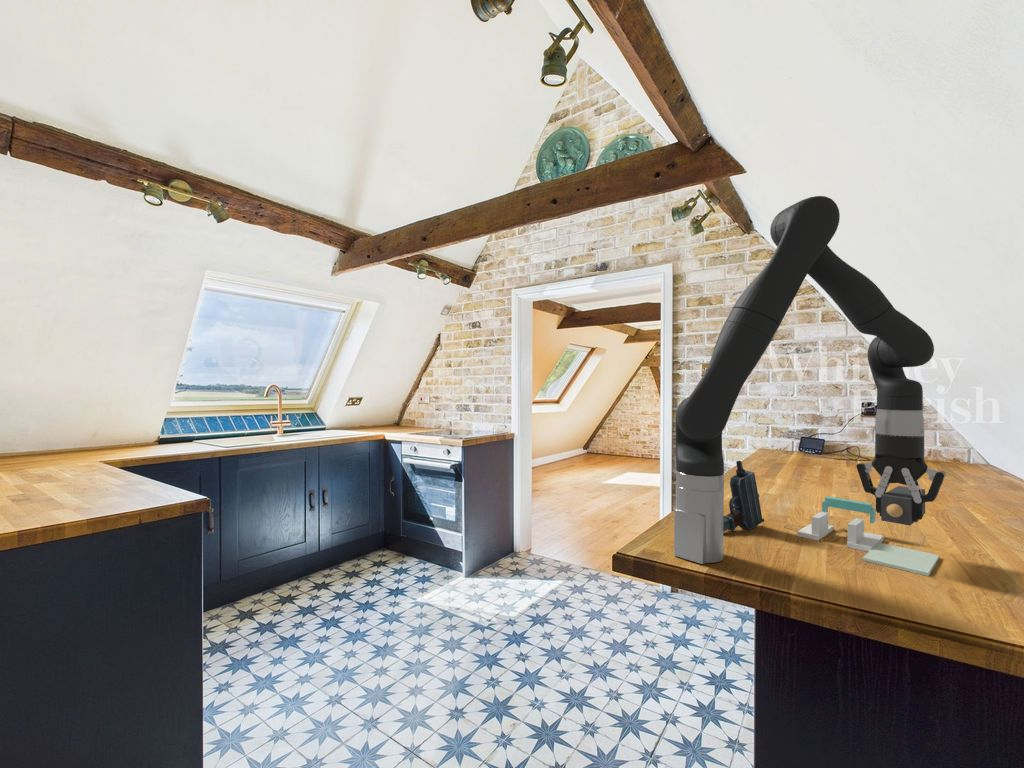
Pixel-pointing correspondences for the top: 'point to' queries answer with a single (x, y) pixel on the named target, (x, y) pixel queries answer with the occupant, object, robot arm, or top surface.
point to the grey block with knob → (898, 506)
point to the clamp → (855, 532)
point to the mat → (902, 558)
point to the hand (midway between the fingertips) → (898, 518)
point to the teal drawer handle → (849, 506)
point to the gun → (743, 501)
